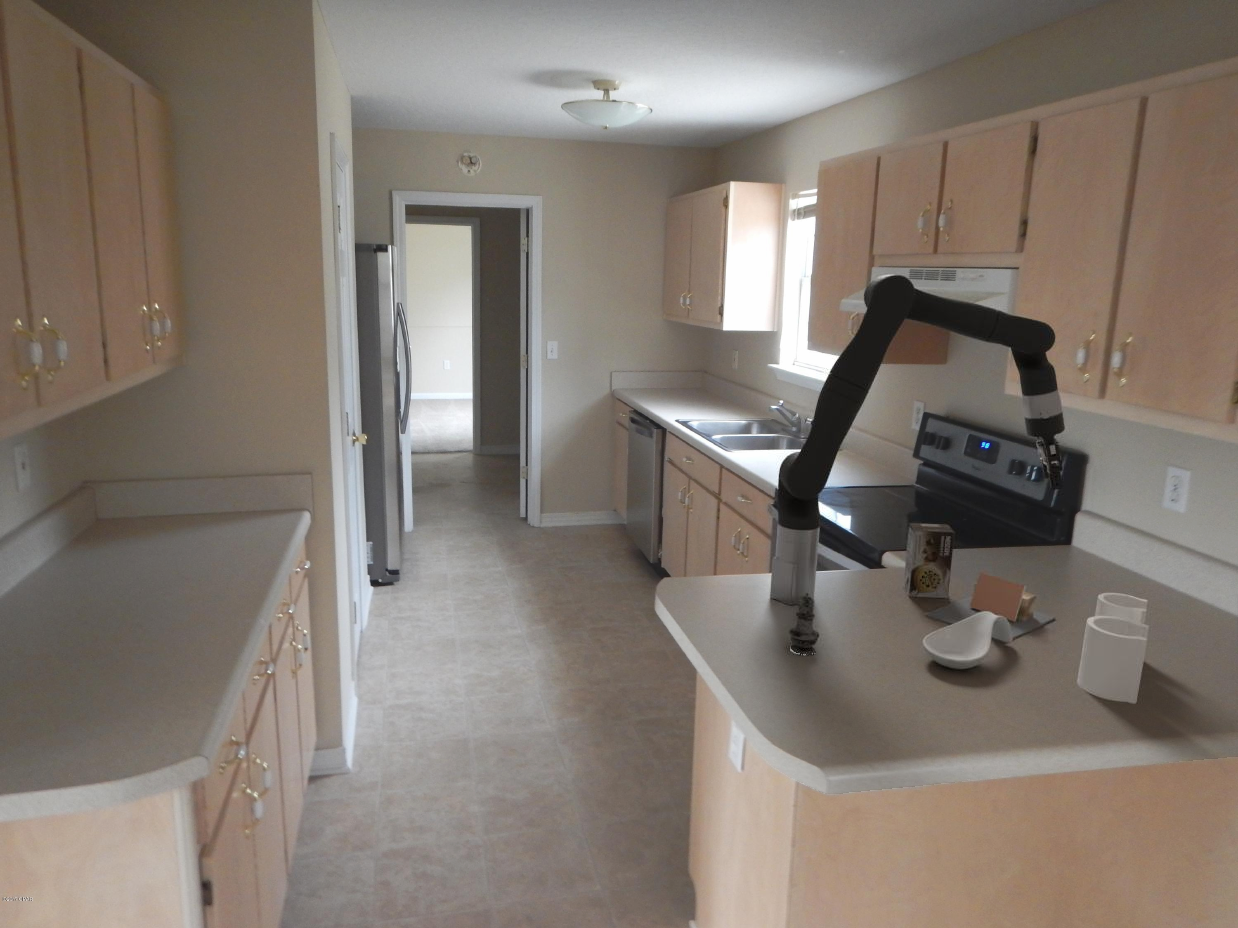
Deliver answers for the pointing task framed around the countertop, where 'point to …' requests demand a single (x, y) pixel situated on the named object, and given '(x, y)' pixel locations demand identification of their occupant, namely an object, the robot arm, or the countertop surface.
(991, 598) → the tile
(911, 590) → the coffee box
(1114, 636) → the bracket
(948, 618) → the mat
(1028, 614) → the block
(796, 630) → the chess piece
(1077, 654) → the countertop surface
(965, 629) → the spoon rest
